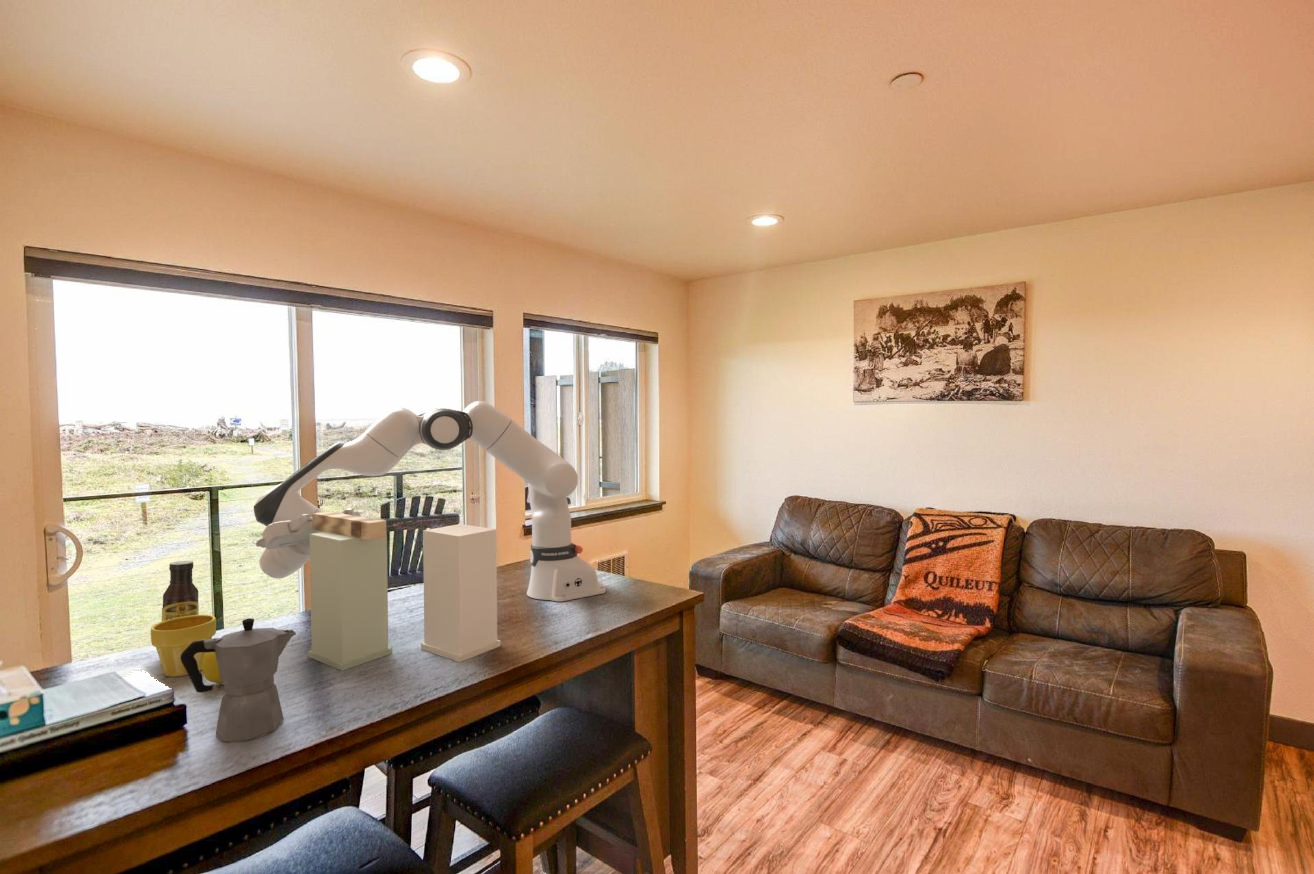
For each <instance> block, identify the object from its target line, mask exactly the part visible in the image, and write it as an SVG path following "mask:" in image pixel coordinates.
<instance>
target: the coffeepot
mask: <svg viewBox="0 0 1314 874" xmlns="http://www.w3.org/2000/svg"><path fill="white" fill-rule="evenodd" d="M241 622H242V626H243V630H242V629H241V630H239V631H234V632H230V633H227V634H224V635H223V636H220V637H215V638H214V637H213V638H212V639H207V640H201V641H194V642H192V643H191V644H190V645H189V646H188V647H187V648H186V649H185V650H184V651H183V652H182V654H181V662H182V664H183V666H184V667H185V669H186V671H187V673H188V675H187V676H188V678H189V679H190V681H191V684H192V686H193V688H194V689H195V691H196V693H208V692H212V690H213V689H214V684H204V680H203V679H204V678H203V673H202V672H201V671H199V669H198V664H197V661H196V659H195V658H194V655H195V654H196V653H200V652H215V654H216V659H217V664H218V668H219V673H220V678H221V682H222V683H223V684H222V685H224V684H225V693H224V694H223V693H222V696H221V702H220V707H219V711H218V712H219V713H218V718H217V724H216V729H215V736H216V737H217V738H218V739H219V740H221V741H223V742H226V743H239V742H246V741H251V740H256V739H258V738H261V737H263V736H266V735H269V734H270V733H272V732H274V731H275V730H277V729H278V728H279V727H280V726H281V724H282V721H284V720H285V718H284V714H283V710H282V705H281V700H280V695H279V693H278V687H277V684H276V683H275V674H276V673H277V671H278V667H279V666H278V665H279V660H280V657H281V655H282V653H283V651H284V649H286V646H287V645H288V643H289V642H290V641H291V639H292V638H293V637H294V636H296V635H297V633H296V631H294V630H292V629H277V628H274V627H257V628H254V623H255V619H254V618H245V619H243V620H242V621H241Z"/></svg>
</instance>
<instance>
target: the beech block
mask: <svg viewBox="0 0 1314 874" xmlns="http://www.w3.org/2000/svg"><path fill="white" fill-rule="evenodd" d="M312 515H313V529H314V530H318V531H323V532H328V533H334V534H339V535H344V536H349V537H355V538H360V539H365V540H376V539H382V538H386V533H387V520H384V519H379V518H372V517H364V516H361V517H360V516H353V515H347V514H342V513H340V512H335V511H334V512H333V511H324V512H321V513H313V514H312Z"/></svg>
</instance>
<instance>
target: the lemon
mask: <svg viewBox="0 0 1314 874" xmlns="http://www.w3.org/2000/svg"><path fill="white" fill-rule="evenodd" d="M202 669H203V670H202V675H203V676H204V679H206V680H208V682H210V683H215V684H217V685H219V686H221V685H224V684H223V683H222V682H221V678H220V673H219V668H218V664H217V659H216V654H215V652H207V653H206V654H205V656H204V659H203V666H202Z"/></svg>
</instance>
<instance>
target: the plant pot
mask: <svg viewBox="0 0 1314 874" xmlns="http://www.w3.org/2000/svg"><path fill="white" fill-rule="evenodd" d="M216 632H217V619H216V617H215V616H214V615H212V614H199V615H191V616H184V617H178V618H173V619H169V620H166V621H162V620H161V621H160V622H157V623H155V624H153V625H152V626H151V628H150V642H151V645H152V647H155V648H156V651H157V655H158V658H159V661H160V664H161V667H162V670H163V674H164V675H165V676H166V677H174V678H176V677H184V676H188V673H187V671H186V669H185V667H184V666H183V664H182V662H181V654H182V652H183V651H184V650H185V649H186V648H187V647H188V646H189V645H190V644H191V643H192V642H194V641H201V640H207V639H213V636H215V635H216V634H217V633H216ZM206 653H207V652H200V653H196V654H195V655H194V658H195V659H196V661H197V664H198V669H199V671H200V672H201V671H203V669H202V666H203V659H204V656H205V654H206Z"/></svg>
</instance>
